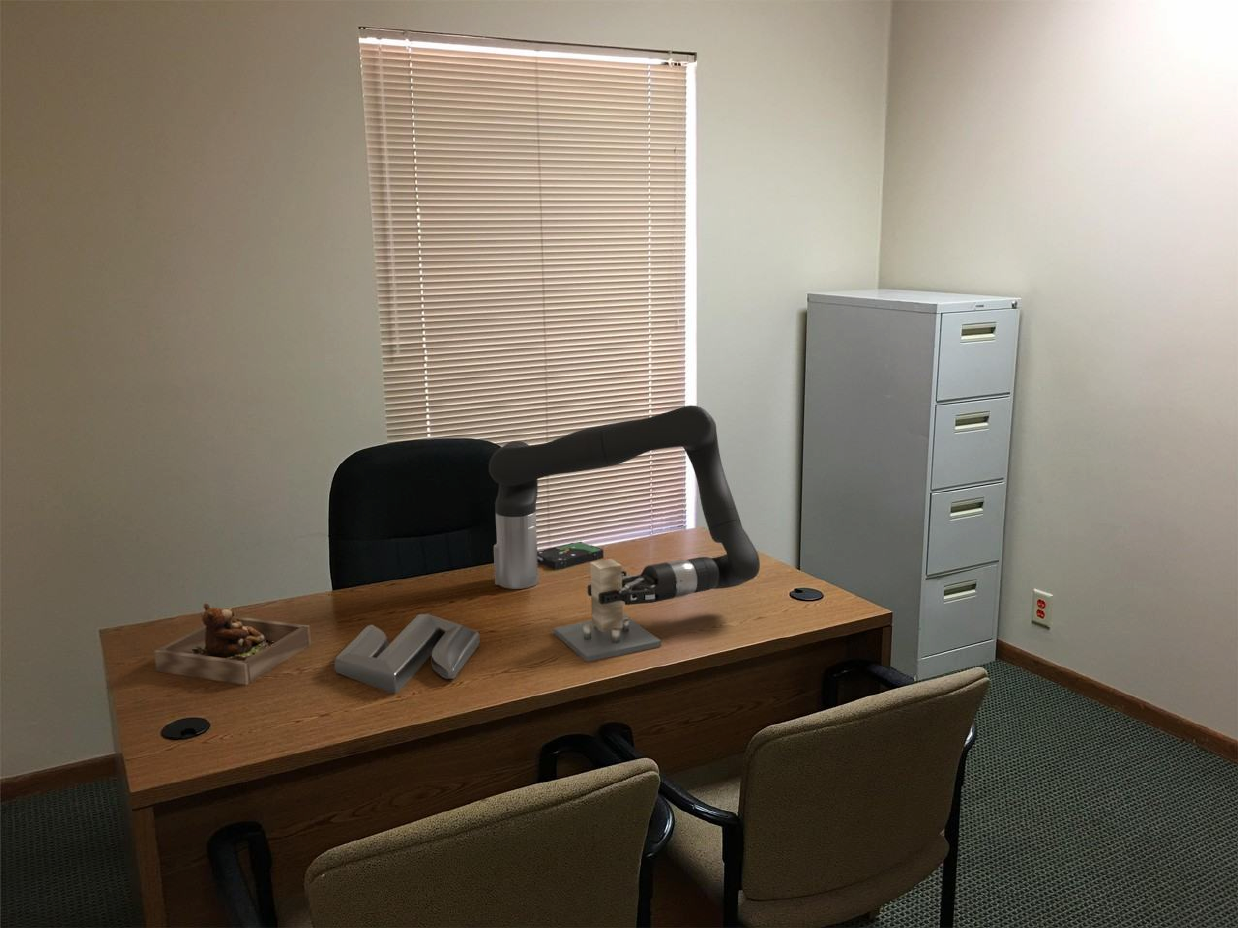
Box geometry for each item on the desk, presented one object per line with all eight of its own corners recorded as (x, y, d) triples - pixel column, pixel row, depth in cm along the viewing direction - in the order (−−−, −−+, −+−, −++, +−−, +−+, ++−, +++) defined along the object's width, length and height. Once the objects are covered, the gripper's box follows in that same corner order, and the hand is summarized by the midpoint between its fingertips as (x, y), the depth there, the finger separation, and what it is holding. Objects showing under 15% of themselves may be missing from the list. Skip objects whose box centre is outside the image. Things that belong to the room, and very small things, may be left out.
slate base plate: (586, 662, 189) (586, 644, 188) (554, 633, 203) (553, 616, 202) (661, 646, 195) (660, 628, 195) (624, 619, 209) (624, 602, 209)
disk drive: (556, 572, 241) (604, 559, 250) (556, 561, 241) (604, 548, 250) (532, 562, 249) (579, 550, 258) (532, 552, 248) (579, 539, 258)
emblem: (499, 649, 183) (344, 677, 172) (500, 676, 184) (346, 705, 173) (461, 600, 208) (323, 622, 197) (462, 624, 209) (325, 647, 198)
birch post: (601, 631, 195) (600, 568, 192) (592, 624, 199) (590, 562, 196) (622, 627, 197) (621, 565, 194) (612, 619, 201) (611, 558, 198)
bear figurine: (278, 662, 191) (273, 602, 188) (195, 680, 184) (187, 618, 181) (264, 638, 203) (258, 581, 200) (184, 654, 195) (177, 595, 193)
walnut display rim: (156, 671, 187) (154, 651, 186) (227, 632, 205) (225, 614, 204) (246, 685, 181) (244, 664, 180) (311, 644, 199) (309, 625, 198)
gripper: (652, 553, 208) (578, 566, 201) (687, 572, 196) (609, 587, 188) (653, 587, 210) (579, 601, 203) (687, 608, 197) (610, 624, 190)
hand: (594, 594), depth 196 cm, fingers closed on birch post, 4 cm apart
